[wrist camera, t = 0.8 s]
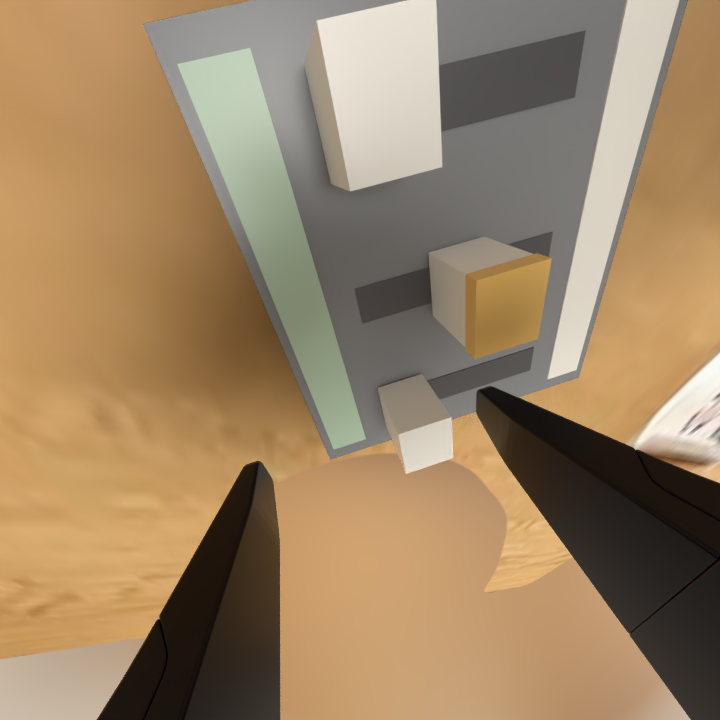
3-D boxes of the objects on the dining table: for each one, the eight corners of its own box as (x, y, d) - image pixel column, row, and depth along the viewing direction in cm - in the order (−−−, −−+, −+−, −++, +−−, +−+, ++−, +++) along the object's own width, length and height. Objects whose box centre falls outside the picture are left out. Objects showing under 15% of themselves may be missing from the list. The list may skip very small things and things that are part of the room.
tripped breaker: (485, 235, 15) (551, 258, 11) (482, 301, 17) (538, 339, 14) (427, 251, 15) (476, 280, 11) (432, 317, 17) (474, 359, 13)
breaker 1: (387, 46, 10) (436, -7, 7) (399, 165, 13) (442, 166, 9) (304, 65, 10) (316, 20, 7) (330, 183, 12) (350, 191, 9)
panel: (670, -72, 12) (719, -101, 10) (563, 366, 24) (579, 378, 23) (159, 40, 10) (141, 22, 9) (327, 443, 23) (330, 460, 22)
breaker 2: (421, 373, 19) (451, 416, 16) (426, 412, 21) (453, 457, 18) (377, 387, 19) (398, 434, 16) (386, 425, 21) (406, 474, 18)
